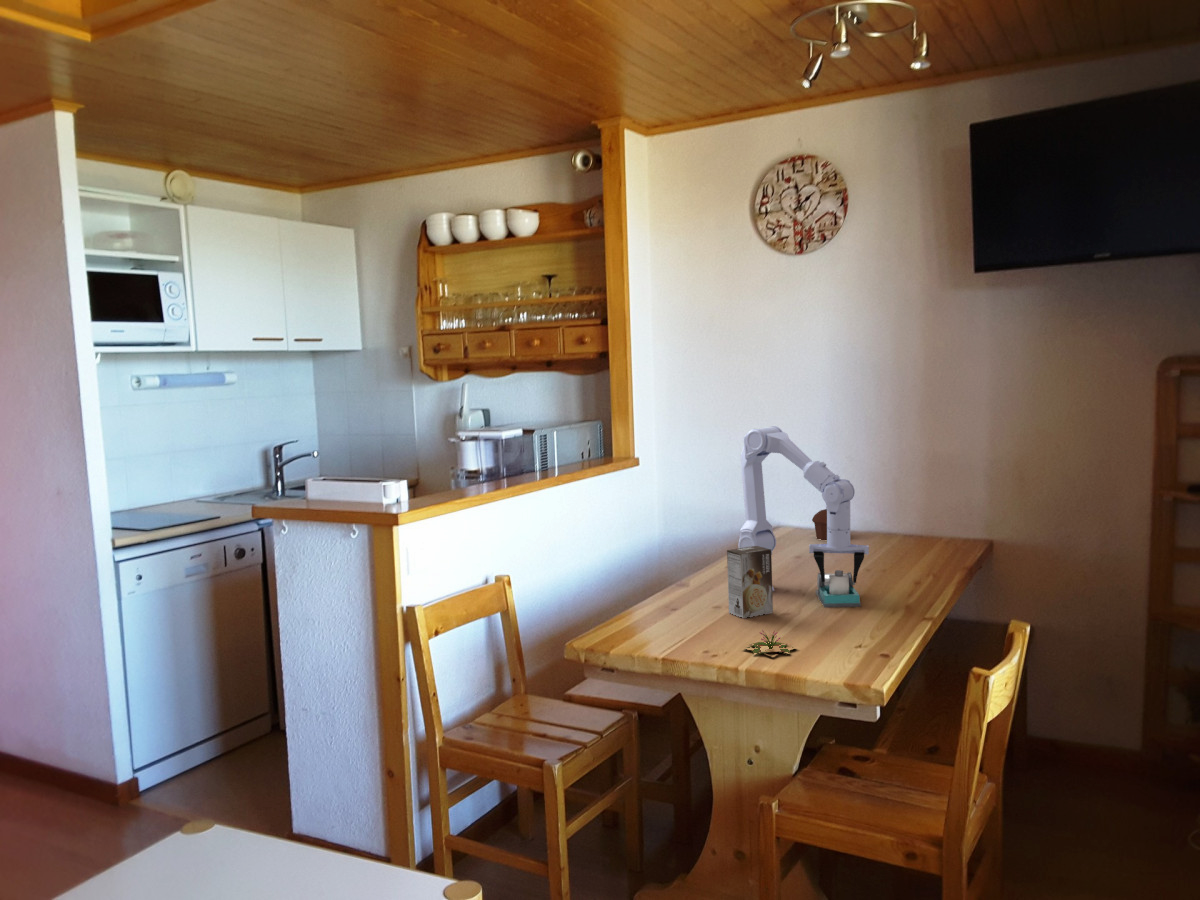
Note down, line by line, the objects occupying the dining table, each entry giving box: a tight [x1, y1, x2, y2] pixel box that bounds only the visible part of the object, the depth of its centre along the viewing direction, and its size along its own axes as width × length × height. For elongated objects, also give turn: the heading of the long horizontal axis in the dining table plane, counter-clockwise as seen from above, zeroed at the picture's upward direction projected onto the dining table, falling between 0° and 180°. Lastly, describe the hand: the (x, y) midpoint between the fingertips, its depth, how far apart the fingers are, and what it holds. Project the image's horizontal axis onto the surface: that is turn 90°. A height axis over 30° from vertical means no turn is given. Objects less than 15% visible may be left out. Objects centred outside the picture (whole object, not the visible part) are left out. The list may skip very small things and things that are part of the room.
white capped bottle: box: [829, 569, 849, 595], centre depth 243 cm, size 5×5×7 cm
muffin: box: [811, 508, 827, 541], centre depth 326 cm, size 12×11×10 cm
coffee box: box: [726, 546, 774, 619], centre depth 236 cm, size 9×6×16 cm
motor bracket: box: [815, 571, 862, 608], centre depth 246 cm, size 10×14×6 cm
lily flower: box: [746, 630, 794, 655], centre depth 207 cm, size 12×12×5 cm
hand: (838, 581), depth 243 cm, fingers open, 7 cm apart
